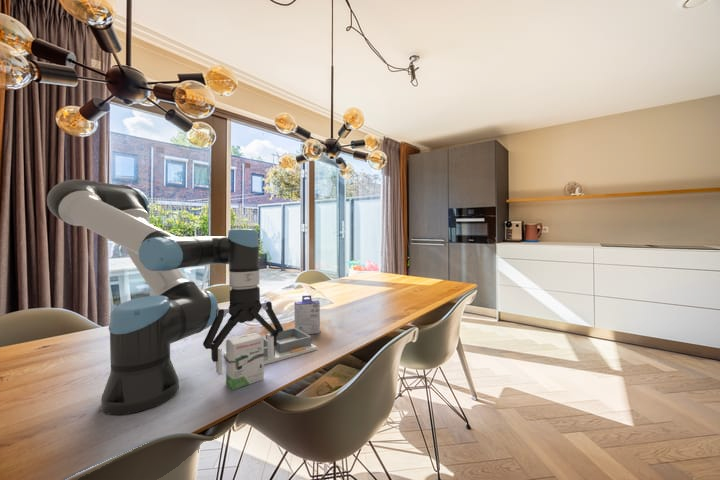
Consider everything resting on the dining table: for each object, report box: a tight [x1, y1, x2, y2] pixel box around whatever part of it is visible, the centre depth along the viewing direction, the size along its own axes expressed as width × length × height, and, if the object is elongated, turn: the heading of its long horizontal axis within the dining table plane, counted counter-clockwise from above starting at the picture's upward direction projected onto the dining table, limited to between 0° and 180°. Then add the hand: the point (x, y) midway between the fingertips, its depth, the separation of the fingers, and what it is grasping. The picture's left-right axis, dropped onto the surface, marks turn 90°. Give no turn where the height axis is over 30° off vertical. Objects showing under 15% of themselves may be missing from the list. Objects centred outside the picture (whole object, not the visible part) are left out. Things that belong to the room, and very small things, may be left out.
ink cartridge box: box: [294, 295, 321, 335], centre depth 119 cm, size 10×6×14 cm, turn 106°
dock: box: [223, 327, 318, 366], centre depth 99 cm, size 26×15×4 cm, turn 129°
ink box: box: [225, 332, 265, 390], centre depth 80 cm, size 9×5×12 cm, turn 134°
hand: (246, 365), depth 80 cm, fingers open, 13 cm apart
